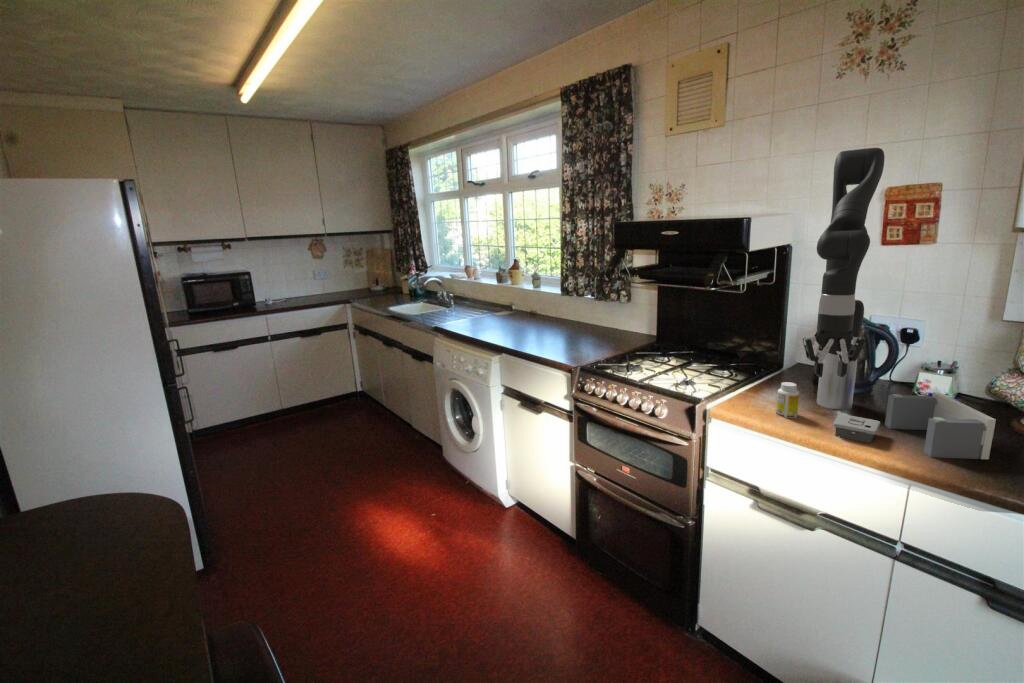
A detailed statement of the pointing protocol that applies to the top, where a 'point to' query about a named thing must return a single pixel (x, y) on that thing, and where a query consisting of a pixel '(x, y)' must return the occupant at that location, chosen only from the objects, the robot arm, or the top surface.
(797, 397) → the supplement bottle
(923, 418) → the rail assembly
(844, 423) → the electrical switch
